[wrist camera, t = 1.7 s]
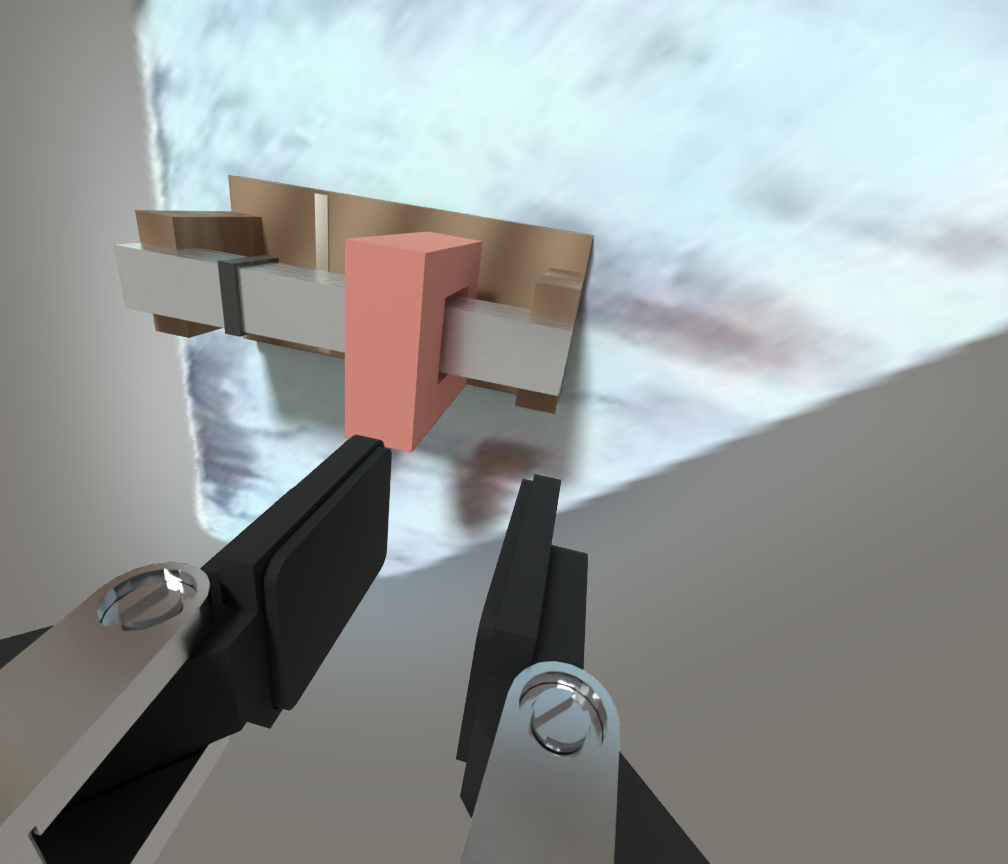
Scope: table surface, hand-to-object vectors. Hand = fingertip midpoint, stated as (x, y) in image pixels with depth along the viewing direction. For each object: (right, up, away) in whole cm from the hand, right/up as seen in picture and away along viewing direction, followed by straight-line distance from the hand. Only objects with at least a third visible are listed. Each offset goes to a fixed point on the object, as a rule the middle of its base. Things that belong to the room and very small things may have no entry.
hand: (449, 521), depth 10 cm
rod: (-6, +8, +15) cm, 19 cm away
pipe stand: (-5, +11, +21) cm, 24 cm away
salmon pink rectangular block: (-2, +9, +17) cm, 19 cm away
